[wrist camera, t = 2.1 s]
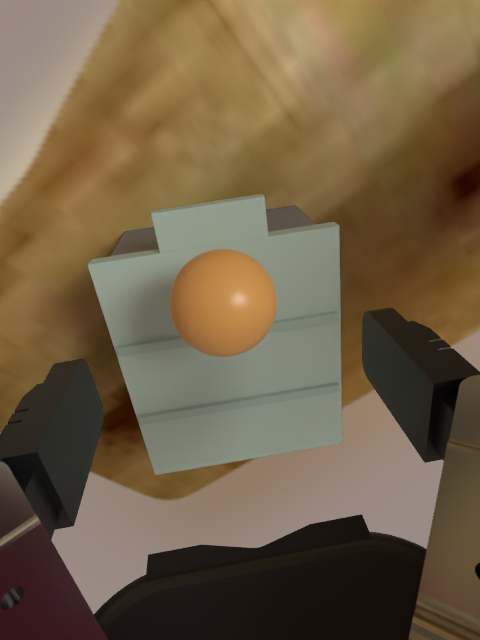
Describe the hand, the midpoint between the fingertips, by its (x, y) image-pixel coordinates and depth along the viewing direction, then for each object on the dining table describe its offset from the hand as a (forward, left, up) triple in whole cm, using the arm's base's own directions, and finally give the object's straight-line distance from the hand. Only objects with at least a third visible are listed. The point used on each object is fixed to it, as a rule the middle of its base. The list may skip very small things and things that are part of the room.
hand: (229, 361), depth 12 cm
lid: (0, +5, -9) cm, 10 cm away
